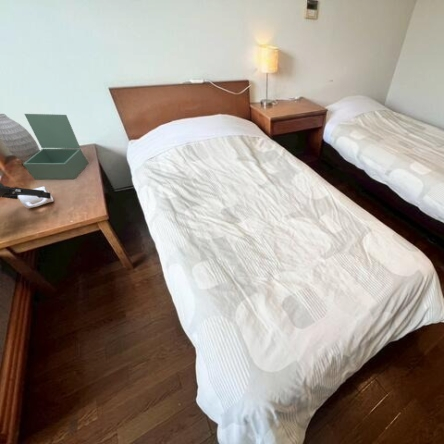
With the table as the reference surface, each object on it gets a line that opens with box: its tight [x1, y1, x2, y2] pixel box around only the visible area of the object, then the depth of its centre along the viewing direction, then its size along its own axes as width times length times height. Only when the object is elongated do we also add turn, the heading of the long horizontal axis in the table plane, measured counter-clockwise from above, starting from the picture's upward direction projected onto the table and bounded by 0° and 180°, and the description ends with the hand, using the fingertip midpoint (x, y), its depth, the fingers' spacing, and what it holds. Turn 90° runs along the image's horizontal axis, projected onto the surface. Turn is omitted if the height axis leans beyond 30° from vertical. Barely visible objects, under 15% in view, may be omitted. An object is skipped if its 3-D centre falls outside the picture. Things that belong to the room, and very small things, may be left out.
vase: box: [0, 113, 41, 164], centre depth 139 cm, size 13×13×28 cm
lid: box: [24, 113, 81, 149], centre depth 141 cm, size 18×20×5 cm
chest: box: [22, 148, 89, 181], centre depth 141 cm, size 18×20×10 cm
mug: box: [18, 186, 54, 209], centre depth 119 cm, size 12×10×8 cm
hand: (33, 196), depth 118 cm, fingers open, 13 cm apart
